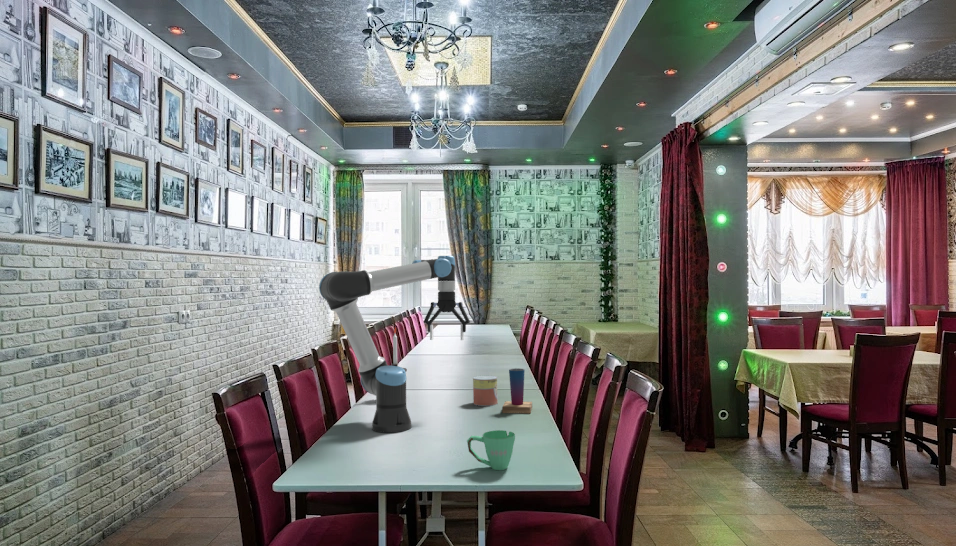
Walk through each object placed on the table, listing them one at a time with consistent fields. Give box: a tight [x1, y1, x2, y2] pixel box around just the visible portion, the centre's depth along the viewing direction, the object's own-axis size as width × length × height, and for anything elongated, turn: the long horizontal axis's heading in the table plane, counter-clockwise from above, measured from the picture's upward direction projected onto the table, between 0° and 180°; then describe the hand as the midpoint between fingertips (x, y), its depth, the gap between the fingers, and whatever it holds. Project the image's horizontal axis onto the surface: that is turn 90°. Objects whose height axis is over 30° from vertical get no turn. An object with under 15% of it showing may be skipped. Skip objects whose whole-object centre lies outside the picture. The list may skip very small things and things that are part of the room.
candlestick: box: [391, 327, 408, 372], centre depth 285 cm, size 11×11×35 cm
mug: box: [466, 429, 516, 471], centre depth 177 cm, size 15×10×10 cm
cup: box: [508, 367, 526, 405], centre depth 255 cm, size 7×7×15 cm
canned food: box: [472, 375, 499, 407], centre depth 271 cm, size 11×11×12 cm
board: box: [501, 400, 533, 414], centre depth 255 cm, size 12×12×3 cm
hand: (446, 339), depth 255 cm, fingers open, 13 cm apart
